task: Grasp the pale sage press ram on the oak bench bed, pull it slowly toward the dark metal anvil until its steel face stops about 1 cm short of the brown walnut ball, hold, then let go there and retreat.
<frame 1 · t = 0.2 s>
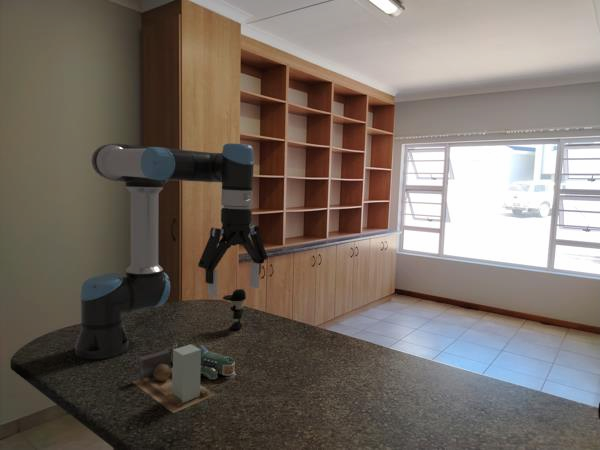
hand: (234, 291, 103), 27 cm above the countertop, fingers open, 13 cm apart
walnut: (162, 380, 108), point 1 cm above the countertop, touching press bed
hoverbike: (197, 372, 117), on the countertop
toy: (233, 328, 152), on the countertop
ram: (185, 372, 100), point 7 cm above the countertop, slide at 0.0 cm
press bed: (173, 392, 105), on the countertop
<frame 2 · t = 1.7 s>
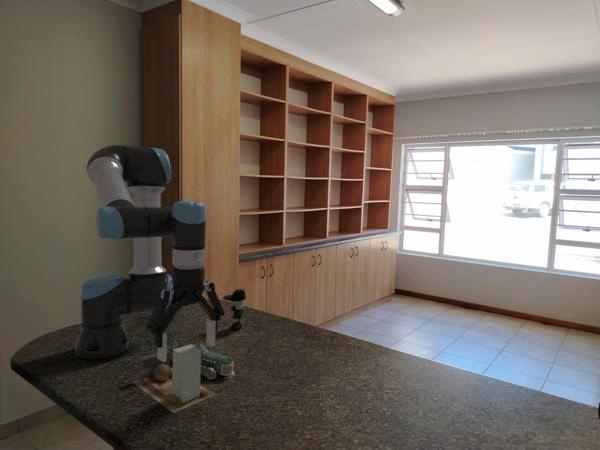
hand: (187, 351, 99), 13 cm above the countertop, fingers open, 13 cm apart
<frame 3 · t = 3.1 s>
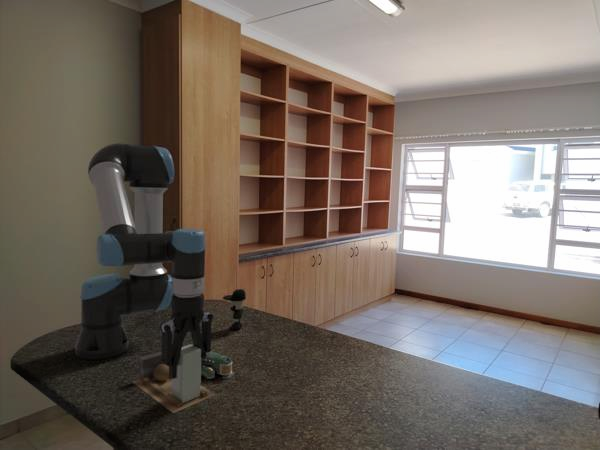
hand: (186, 385, 100), 4 cm above the countertop, fingers closed on ram, 5 cm apart
ram: (185, 372, 100), point 7 cm above the countertop, slide at 0.0 cm, touching gripper
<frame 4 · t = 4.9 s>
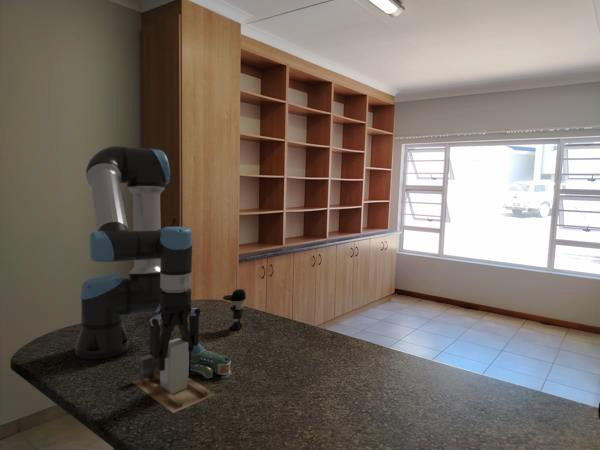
hand: (174, 377, 104), 4 cm above the countertop, fingers closed on ram, 5 cm apart
ram: (174, 365, 104), point 7 cm above the countertop, slide at 5.5 cm, touching gripper
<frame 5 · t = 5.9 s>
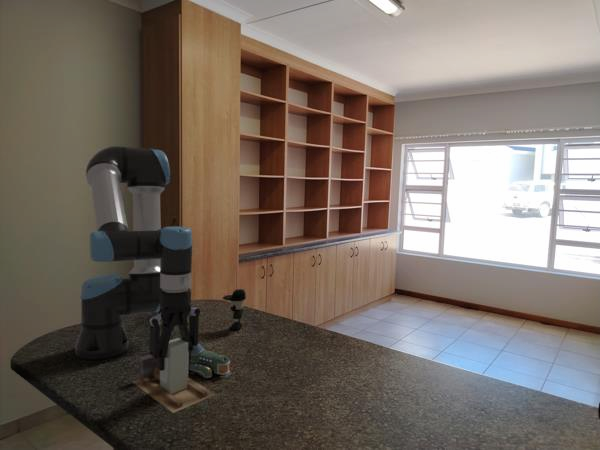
hand: (174, 377, 104), 4 cm above the countertop, fingers closed on ram, 5 cm apart
ram: (173, 365, 104), point 7 cm above the countertop, slide at 5.6 cm, touching gripper
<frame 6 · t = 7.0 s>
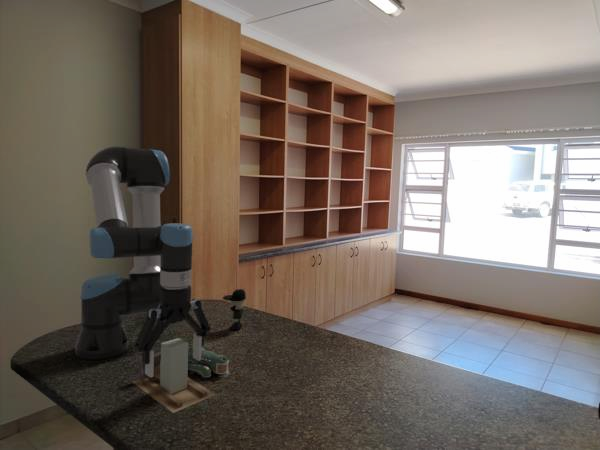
hand: (174, 366, 104), 7 cm above the countertop, fingers open, 13 cm apart
ram: (173, 365, 104), point 7 cm above the countertop, slide at 5.6 cm
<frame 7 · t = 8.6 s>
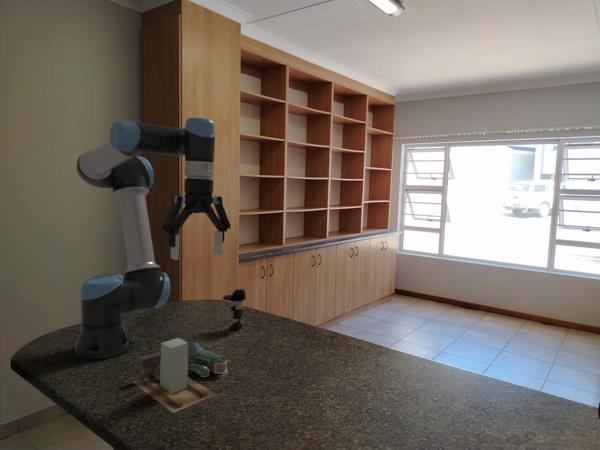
hand: (197, 256, 111), 34 cm above the countertop, fingers open, 13 cm apart
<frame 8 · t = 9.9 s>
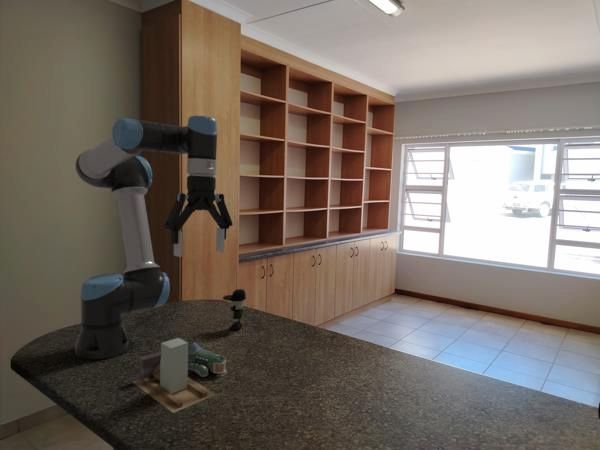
hand: (199, 253, 111), 35 cm above the countertop, fingers open, 13 cm apart
at the end: ram slide at 5.6 cm; walnut moved 0.1 cm from its start; the gripper is holding nothing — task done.
